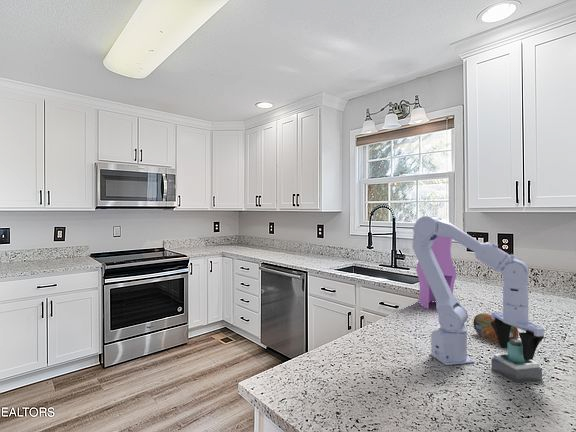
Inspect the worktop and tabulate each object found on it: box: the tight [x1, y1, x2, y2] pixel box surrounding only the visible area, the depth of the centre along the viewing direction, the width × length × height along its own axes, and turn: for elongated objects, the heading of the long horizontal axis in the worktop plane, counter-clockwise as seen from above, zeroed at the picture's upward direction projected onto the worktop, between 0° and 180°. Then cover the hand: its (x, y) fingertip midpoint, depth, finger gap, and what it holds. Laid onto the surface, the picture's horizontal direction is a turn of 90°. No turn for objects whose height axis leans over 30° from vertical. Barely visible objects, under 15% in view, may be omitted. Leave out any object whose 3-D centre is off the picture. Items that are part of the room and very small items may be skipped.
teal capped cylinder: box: [506, 339, 525, 364], centre depth 89 cm, size 4×4×6 cm
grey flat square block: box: [491, 352, 543, 384], centre depth 89 cm, size 8×8×4 cm
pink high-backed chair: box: [415, 236, 457, 309], centre depth 157 cm, size 14×14×35 cm
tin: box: [472, 313, 519, 344], centre depth 113 cm, size 15×3×8 cm, turn 21°
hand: (515, 353), depth 89 cm, fingers open, 7 cm apart
